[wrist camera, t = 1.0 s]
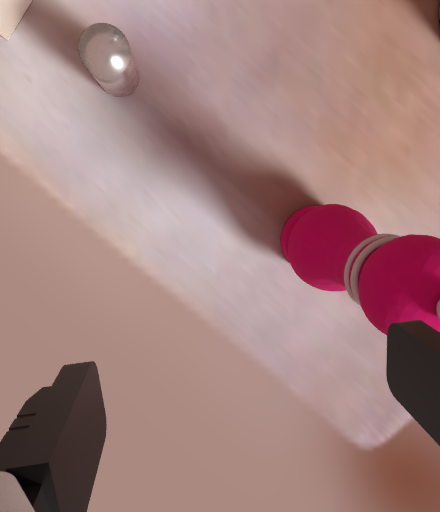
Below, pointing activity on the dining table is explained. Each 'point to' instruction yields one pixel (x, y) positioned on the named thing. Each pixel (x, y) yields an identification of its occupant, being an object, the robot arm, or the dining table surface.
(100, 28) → the short pin
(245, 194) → the dining table surface
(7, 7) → the socket block
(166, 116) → the dining table surface
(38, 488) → the robot arm
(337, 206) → the pepper mill
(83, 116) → the dining table surface
